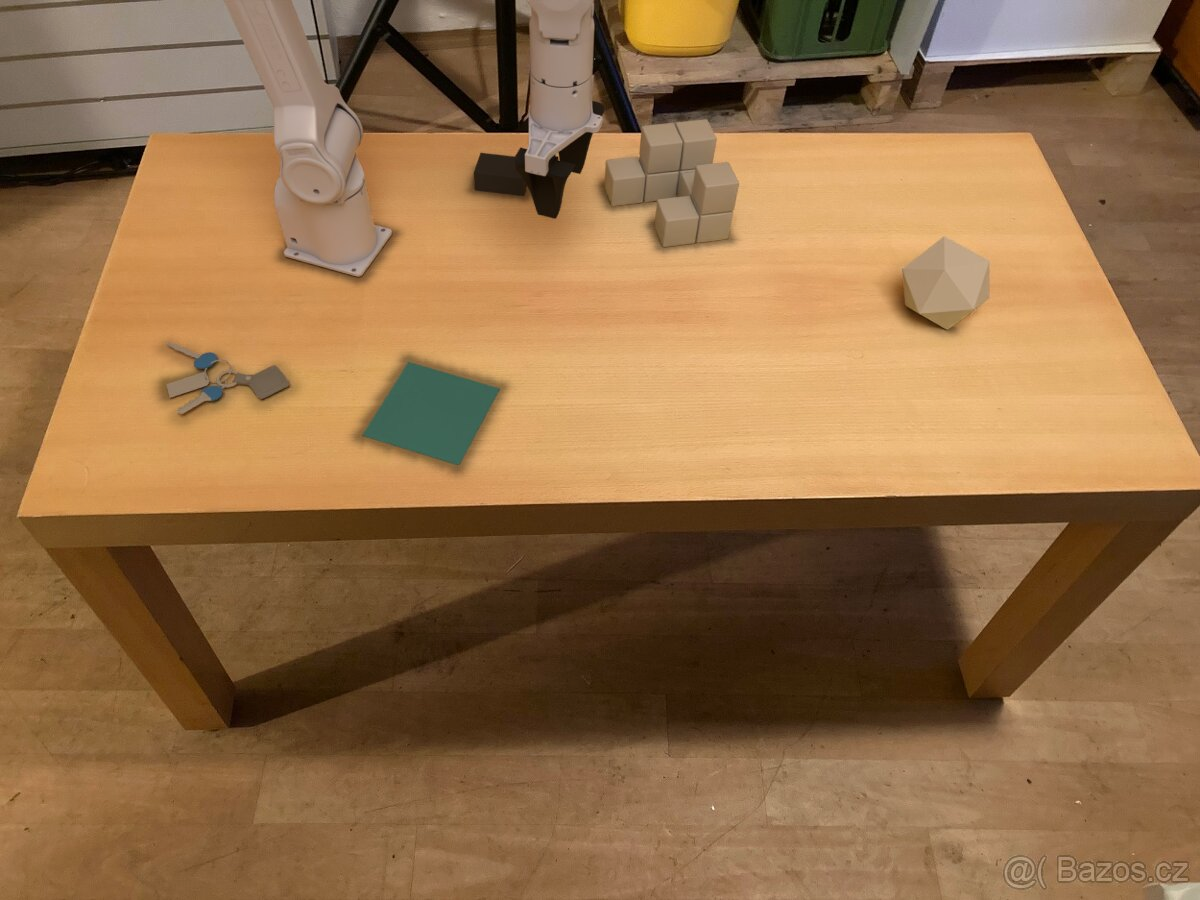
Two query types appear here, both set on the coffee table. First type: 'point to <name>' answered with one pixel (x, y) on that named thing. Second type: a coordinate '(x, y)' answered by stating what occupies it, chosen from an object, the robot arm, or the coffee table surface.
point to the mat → (432, 413)
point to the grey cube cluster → (677, 182)
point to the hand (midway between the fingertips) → (560, 191)
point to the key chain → (259, 382)
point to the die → (946, 282)
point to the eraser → (498, 175)
